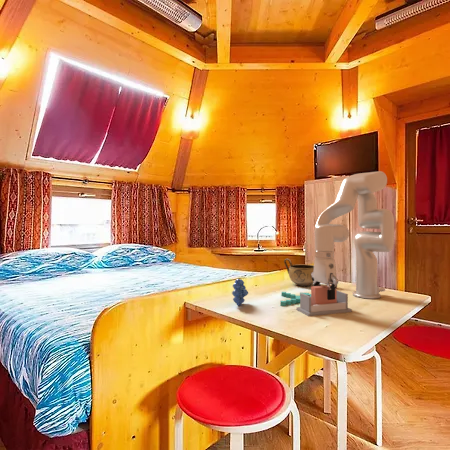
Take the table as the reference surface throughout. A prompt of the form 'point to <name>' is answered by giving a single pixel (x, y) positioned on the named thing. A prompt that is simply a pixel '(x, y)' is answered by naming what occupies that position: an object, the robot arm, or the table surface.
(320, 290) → the salmon pink rectangular block
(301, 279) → the ceramic bowl
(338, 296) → the track
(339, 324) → the table surface
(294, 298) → the alien figure
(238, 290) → the grapes
